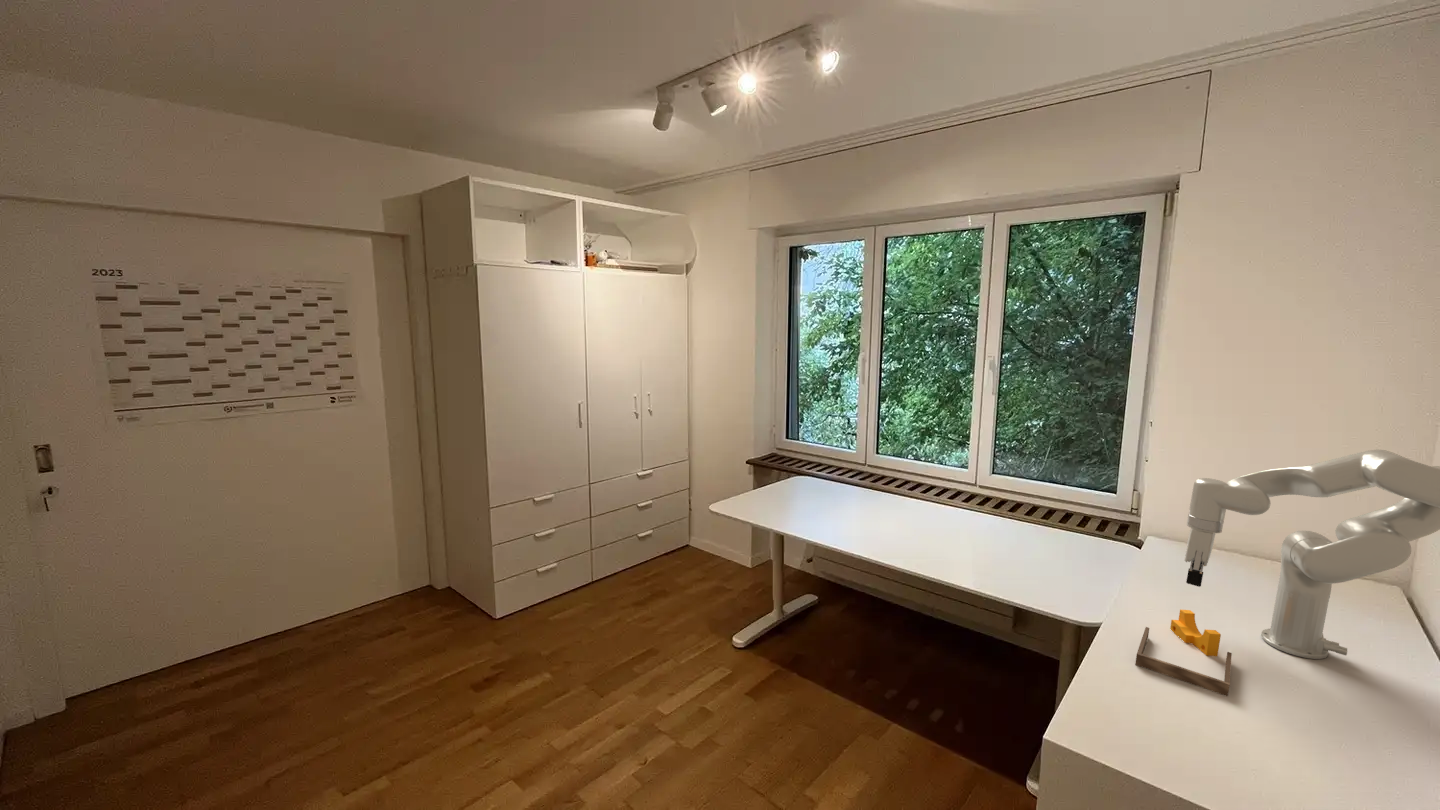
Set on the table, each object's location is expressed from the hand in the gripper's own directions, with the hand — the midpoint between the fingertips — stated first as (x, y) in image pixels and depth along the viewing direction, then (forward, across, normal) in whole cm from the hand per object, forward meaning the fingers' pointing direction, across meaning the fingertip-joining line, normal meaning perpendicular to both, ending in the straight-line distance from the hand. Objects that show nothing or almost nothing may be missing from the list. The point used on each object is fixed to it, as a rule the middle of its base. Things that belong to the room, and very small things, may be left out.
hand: (1193, 584), depth 160 cm
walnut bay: (+12, +25, +1) cm, 28 cm away
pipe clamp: (+12, +11, +2) cm, 17 cm away
